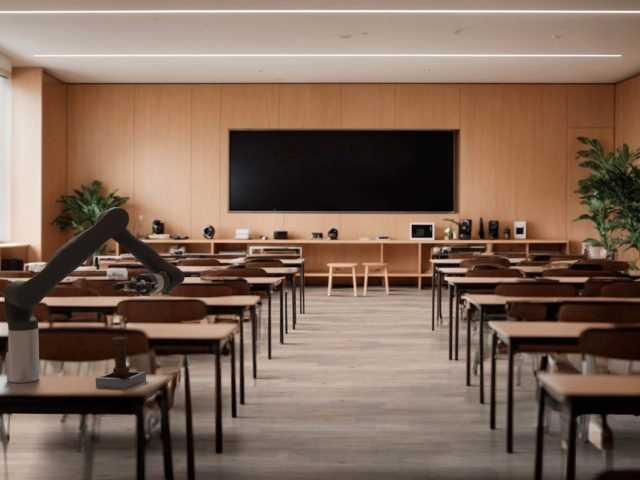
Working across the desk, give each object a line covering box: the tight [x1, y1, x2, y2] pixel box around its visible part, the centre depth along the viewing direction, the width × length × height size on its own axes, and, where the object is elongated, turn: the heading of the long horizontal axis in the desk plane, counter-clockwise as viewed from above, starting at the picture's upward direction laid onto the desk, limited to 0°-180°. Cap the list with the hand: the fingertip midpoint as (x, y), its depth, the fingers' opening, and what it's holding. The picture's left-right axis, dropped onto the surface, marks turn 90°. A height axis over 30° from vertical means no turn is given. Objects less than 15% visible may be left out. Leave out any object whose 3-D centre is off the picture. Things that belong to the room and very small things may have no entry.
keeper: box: [95, 370, 147, 390], centre depth 228 cm, size 11×11×3 cm
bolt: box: [110, 336, 131, 379], centre depth 228 cm, size 6×5×15 cm
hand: (125, 288), depth 240 cm, fingers open, 8 cm apart
